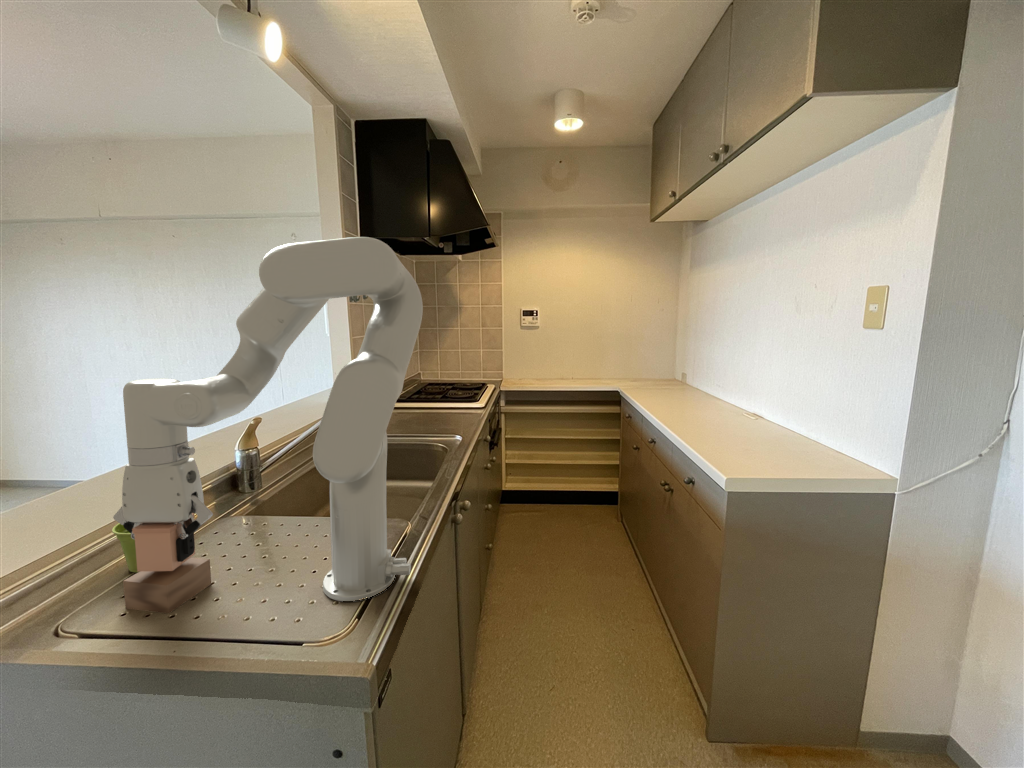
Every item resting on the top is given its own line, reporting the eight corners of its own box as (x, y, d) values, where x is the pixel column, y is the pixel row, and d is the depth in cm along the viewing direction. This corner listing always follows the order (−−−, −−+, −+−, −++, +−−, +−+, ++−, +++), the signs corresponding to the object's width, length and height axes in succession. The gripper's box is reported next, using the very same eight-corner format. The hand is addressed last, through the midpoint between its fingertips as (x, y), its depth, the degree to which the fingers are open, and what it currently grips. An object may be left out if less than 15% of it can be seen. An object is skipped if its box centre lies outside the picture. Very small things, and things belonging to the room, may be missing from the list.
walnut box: (211, 585, 74) (209, 558, 73) (169, 614, 66) (167, 585, 65) (171, 580, 75) (169, 555, 74) (125, 609, 67) (123, 580, 66)
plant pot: (143, 581, 74) (139, 536, 73) (102, 574, 76) (98, 530, 75) (192, 555, 83) (190, 514, 82) (155, 549, 85) (152, 509, 84)
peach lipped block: (196, 553, 73) (194, 513, 72) (172, 571, 67) (169, 528, 66) (162, 553, 72) (159, 513, 71) (135, 572, 67) (132, 528, 66)
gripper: (227, 448, 72) (233, 546, 74) (123, 447, 70) (132, 547, 72) (198, 461, 64) (205, 569, 66) (81, 460, 63) (92, 571, 65)
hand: (166, 556), depth 69 cm, fingers closed on peach lipped block, 5 cm apart
